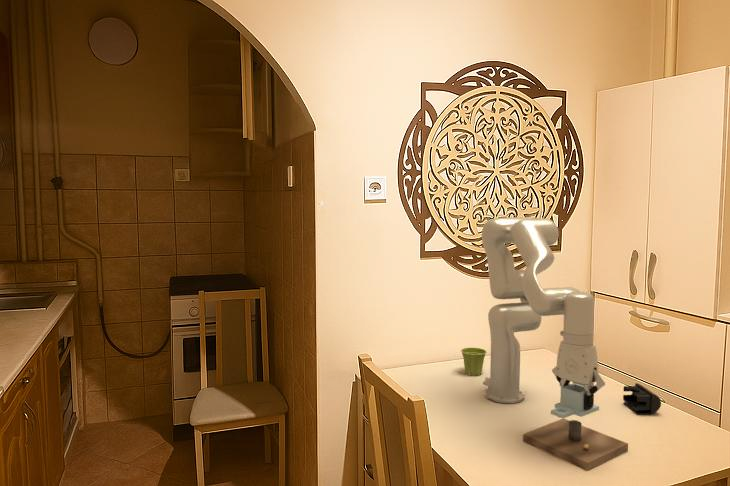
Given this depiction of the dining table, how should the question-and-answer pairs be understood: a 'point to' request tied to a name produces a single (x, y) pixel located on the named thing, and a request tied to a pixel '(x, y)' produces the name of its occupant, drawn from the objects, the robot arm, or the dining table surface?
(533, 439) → the post board
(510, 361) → the robot arm
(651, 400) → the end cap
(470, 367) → the plant pot
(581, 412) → the grey bracket housing
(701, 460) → the dining table surface
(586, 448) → the brass dowel
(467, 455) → the dining table surface
